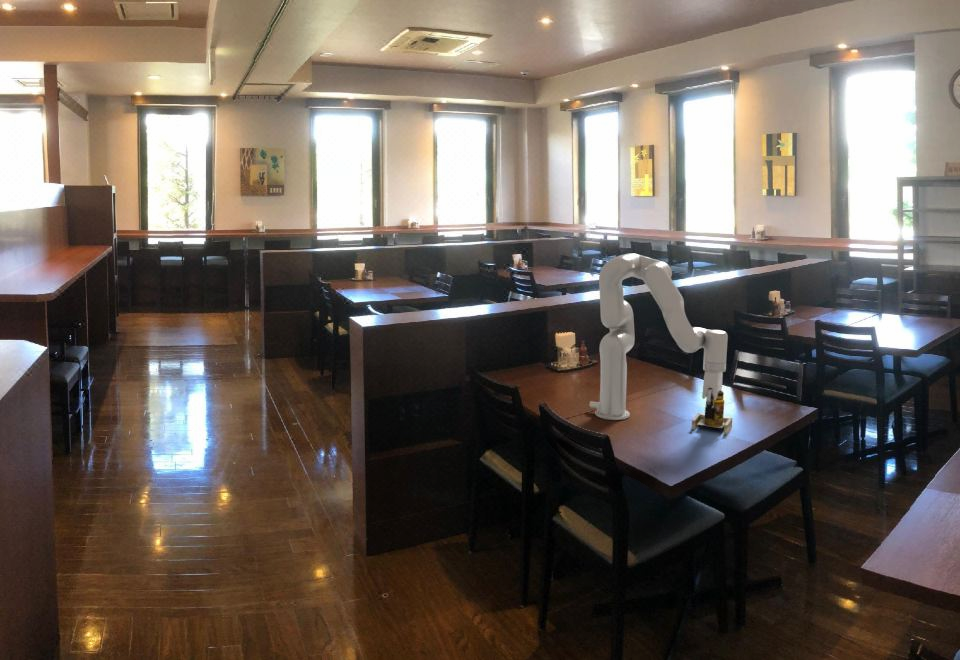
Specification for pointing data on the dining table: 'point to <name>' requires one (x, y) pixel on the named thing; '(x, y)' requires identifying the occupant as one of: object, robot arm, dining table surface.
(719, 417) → the condiment
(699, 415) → the u rest
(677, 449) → the dining table surface
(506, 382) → the dining table surface
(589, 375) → the dining table surface
